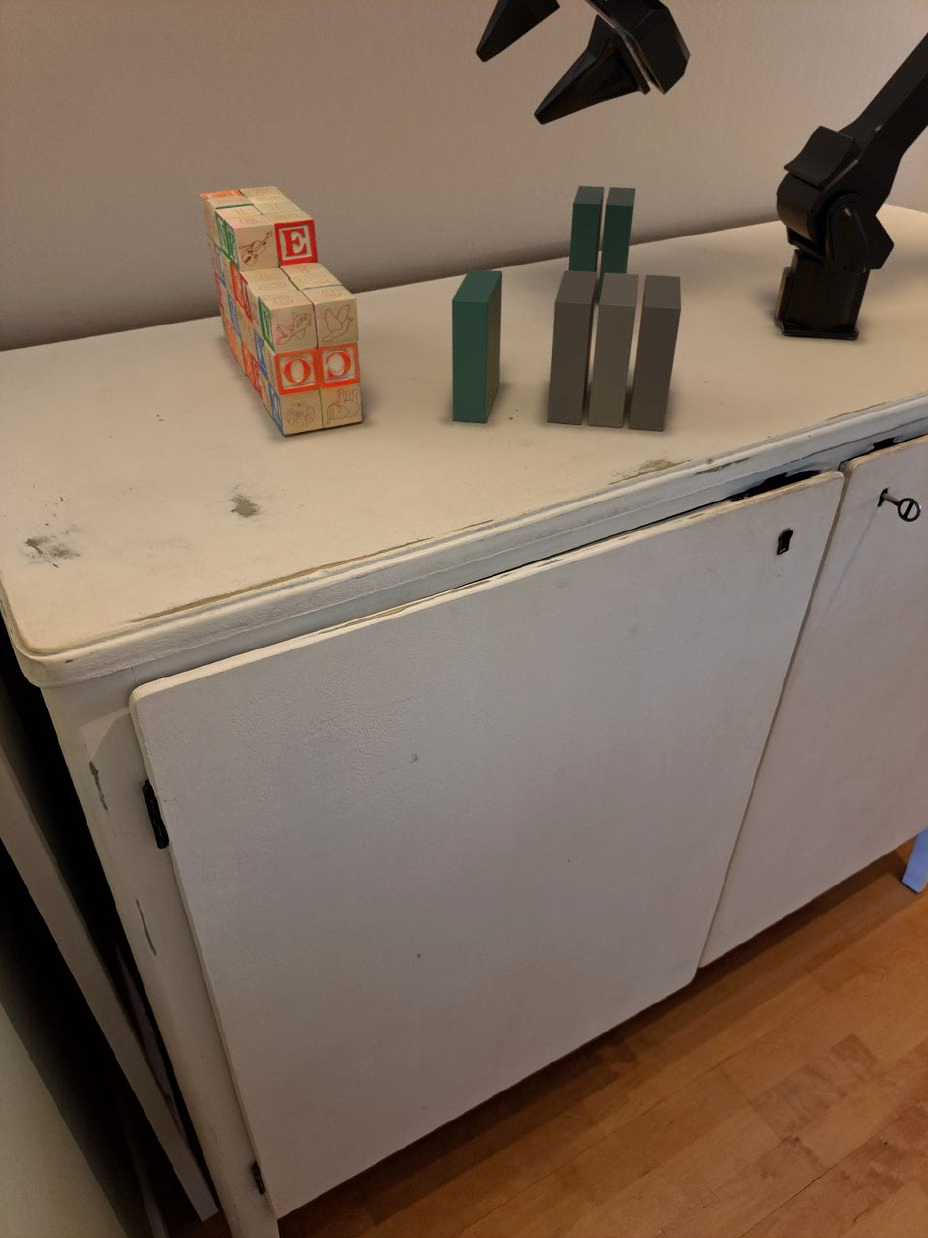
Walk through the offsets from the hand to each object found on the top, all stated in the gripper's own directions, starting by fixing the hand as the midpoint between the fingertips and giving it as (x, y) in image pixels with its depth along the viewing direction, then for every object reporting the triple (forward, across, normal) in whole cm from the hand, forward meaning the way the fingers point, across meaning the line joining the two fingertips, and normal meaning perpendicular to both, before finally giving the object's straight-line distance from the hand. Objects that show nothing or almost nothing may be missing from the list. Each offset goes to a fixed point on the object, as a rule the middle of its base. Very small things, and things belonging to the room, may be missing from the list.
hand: (507, 87), depth 68 cm
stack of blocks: (+27, +5, -1) cm, 28 cm away
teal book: (+16, +16, +5) cm, 23 cm away
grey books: (+10, +21, +10) cm, 25 cm away
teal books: (+5, -1, +26) cm, 26 cm away
